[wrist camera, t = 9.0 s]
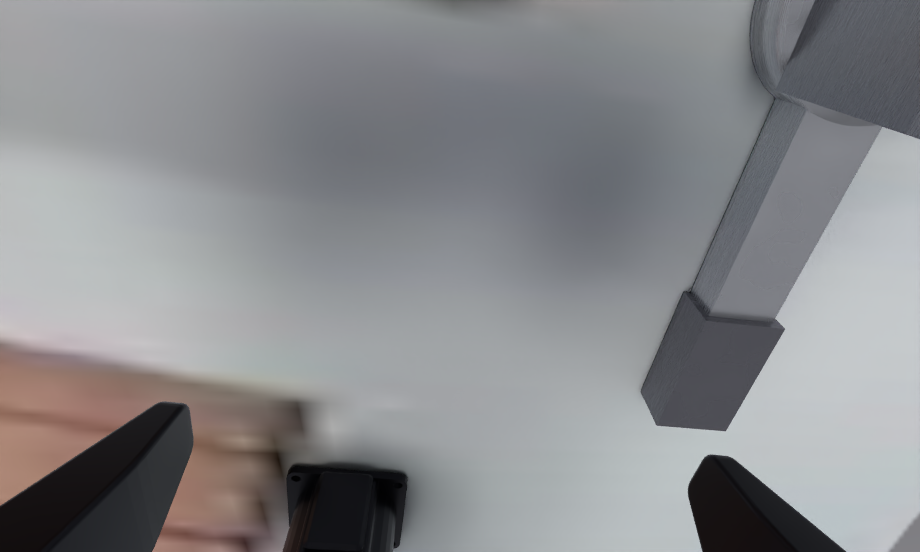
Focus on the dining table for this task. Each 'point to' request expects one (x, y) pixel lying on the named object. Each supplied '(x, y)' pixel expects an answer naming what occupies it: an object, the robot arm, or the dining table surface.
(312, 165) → the dining table surface
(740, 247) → the gray handled tool
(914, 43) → the gray block
